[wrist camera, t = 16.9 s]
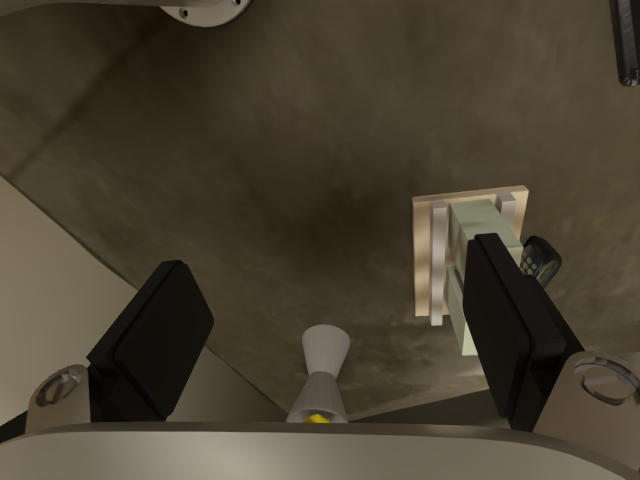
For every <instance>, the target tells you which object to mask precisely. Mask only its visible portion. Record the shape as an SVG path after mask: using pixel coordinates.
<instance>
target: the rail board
mask: <svg viewBox="0 0 640 480" xmlns="http://www.w3.org/2000/svg"><path fill="white" fill-rule="evenodd" d="M528 192H529V190H528V189H527V188H526V187H525V186H524V185H519V186H510V187H501V188H492V189H482V190H473V191H464V192H455V193H445V194H436V195H427V196H418V197H412V224H413V267H414V309H415V314H416V316H428V315H429V317H430V321H431V325H442V315H450V314H449V310H448V307H447V304H446V300H445V282H446V266H457V268H458V271H459V273H460V276H461V278H462V281H463V283H464V277H465V266H466V254H467V243H468V240H471V239H474V236H475V235H476V234H485V233H497V234H498V235H499V237H500V238H501V240H502V241H503V243H504V245H505V246H506V248H507V249H508V251H509V252H510V254H511V256H512V257H513V259H514V260H515V262H516V264H517V265H518V267H520V262H521V257H522V252H523V245H522V244H521V243H520V241H519V239H520V234H521V229H522V223H523V218H524V213H525V207H526V202H527V197H528Z"/></svg>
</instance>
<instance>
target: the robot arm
mask: <svg viewBox="0 0 640 480" xmlns="http://www.w3.org/2000/svg"><path fill="white" fill-rule="evenodd" d="M65 2H76V3H101V4H119V5H142V6H159V7H160V8H161V9H163V10H164V11H165V12H166V13H167V14H169V15H170V16H172V17H174V18H175V19H177V20H179V21H181V22H184V23H186V24H189V25H192V26H199V27H214V26H218V25H223V24H225V23H227V22H229V21H231V20H233V19H235V18H236V17H237V16H238V15H240V14H241V13H242V12H243V11H244V10H245V8H246V7H247V6H248V4H249V3H250V2H251V0H241V3H240V4H238V3H237V0H0V16H4V15H7V14H10V13H13V12H16V11H19V10H23V9H26V8H29V7H33V6H37V5H43V4H50V3H65ZM186 10H187V12H188V16H186V14H185V11H186ZM462 308H463V313H464V317H465V320H466V322H467V325H468V328H469V331H470V334H471V337H472V339H473V342H474V345H475V348H476V351H477V354H478V357H479V359H480V362H481V365H482V368H483V371H484V374H485V377H486V379H487V382H488V385H489V388H490V391H491V394H492V397H493V399H494V402H495V405H496V408H497V411H498V413H499V415H500V417H501V418H507V419H508V422H509V424H510V427H511V429H505V428H492V427H478V426H455V425H423V424H420V425H419V424H368V423H367V424H365V423H289V422H285V423H284V422H279V423H278V422H165V421H166V419H167V417H168V416H169V415H171V414H172V412H173V411H174V408H175V407H176V404H177V402H178V400H179V398H180V396H181V394H182V392H183V389H184V387H185V385H186V383H187V381H188V379H189V376H190V374H191V372H192V370H193V368H194V365H195V364H196V362H197V359H198V357H199V355H200V353H201V351H202V349H203V347H204V344H205V342H206V340H207V338H208V336H209V334H210V332H211V329H212V327H213V324H214V318H213V315H212V313H211V311H210V309H209V307H208V305H207V303H206V301H205V299H204V297H203V295H202V293H201V291H200V289H199V287H198V285H197V283H196V281H195V279H194V277H193V275H192V273H191V271H190V269H189V267H188V265H187V264H184V263H183V262H182V261H181V260H172V261H164V262H162V263H161V264H160V265H159V266H158V267H157V269H156V270H155V271H154V272H153V274H152V275H151V276H150V277H149V279H148V280H147V281H146V283H145V284H144V285H143V286H142V288H141V289H140V290H139V291H138V293H137V294H136V295H135V296H134V298H133V299H132V300H131V301H130V303H129V304H128V305H127V306H126V308H125V309H124V310H123V311H122V313H121V314H120V315H119V316H118V318H117V319H116V320H115V321H114V323H113V324H112V325H111V326H110V328H109V329H108V330H107V332H106V333H105V334H104V335H103V337H102V338H101V339H100V340H99V342H98V343H97V344H96V345H95V347H94V348H93V349H92V351H91V352H90V353H89V354H88V355H87V357H86V358H87V359H88V360H89V362H90V363H91V364H90V365H89V367H88V368H86V367H85V366H83V365H71V366H67V367H66V368H63V369H60V370H59V371H57V372H56V373H54V374H52V375H51V376H49V377H48V378H47V379H46V380H44V381H43V382H42V383H41V384H40V385H39V387H38V388H37V389H36V390H35V391H34V393H33V395H32V396H31V398H30V401H29V406H28V410H27V411H25V412H24V413H22V414H20V415H18V416H17V417H15V418H13V419H12V420H10V421H8V422H7V423H5V424H3V425H2V426H0V480H640V371H639V370H638V369H636V368H635V367H634V366H632V365H631V364H629V363H627V362H625V361H624V360H622V359H619V358H618V357H615V356H612V355H609V354H606V353H603V352H596V351H585V350H584V348H583V347H582V345H581V344H580V342H579V341H578V339H577V338H576V336H575V335H574V333H573V332H572V330H571V329H570V327H569V326H568V324H567V323H566V321H565V320H564V318H563V317H562V315H561V314H560V312H559V311H558V309H557V308H556V307H555V305H554V304H553V302H552V301H551V299H550V298H549V296H548V295H547V293H546V292H545V290H544V289H543V287H542V286H541V284H540V283H539V281H538V280H537V279H536V278H535V276H533V275H531V274H526V275H523V273H522V271H521V270H520V268H519V267H518V265H517V264H516V262H515V260H514V259H513V257H512V256H511V254H510V252H509V251H508V249H507V248H506V246H505V245H504V243H503V241H502V240H501V238H500V237H499V235H498V234H497V233H485V234H476V235H475V236H474V239H471V240H468V243H467V254H466V266H465V277H464V289H463V301H462Z"/></svg>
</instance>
